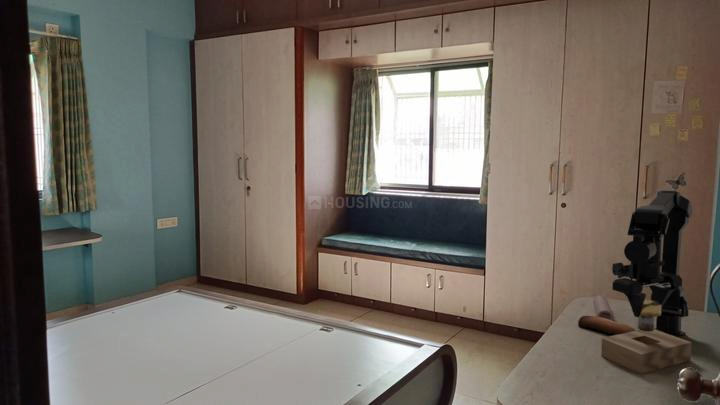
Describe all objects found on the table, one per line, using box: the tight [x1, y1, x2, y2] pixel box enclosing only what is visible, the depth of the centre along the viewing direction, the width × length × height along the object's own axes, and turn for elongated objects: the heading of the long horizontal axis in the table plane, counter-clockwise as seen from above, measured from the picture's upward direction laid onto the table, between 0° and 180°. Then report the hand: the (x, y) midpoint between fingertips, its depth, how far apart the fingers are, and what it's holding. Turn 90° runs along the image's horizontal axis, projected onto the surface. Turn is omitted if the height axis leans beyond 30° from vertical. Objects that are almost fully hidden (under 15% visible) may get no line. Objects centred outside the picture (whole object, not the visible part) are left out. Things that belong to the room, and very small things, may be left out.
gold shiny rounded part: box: [631, 299, 661, 331], centre depth 133 cm, size 7×7×7 cm
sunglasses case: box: [577, 315, 637, 336], centre depth 154 cm, size 18×7×7 cm
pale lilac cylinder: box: [592, 295, 614, 321], centre depth 168 cm, size 5×5×18 cm
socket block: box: [601, 329, 692, 375], centre depth 134 cm, size 18×12×5 cm, turn 112°
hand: (646, 314), depth 133 cm, fingers closed on gold shiny rounded part, 7 cm apart
